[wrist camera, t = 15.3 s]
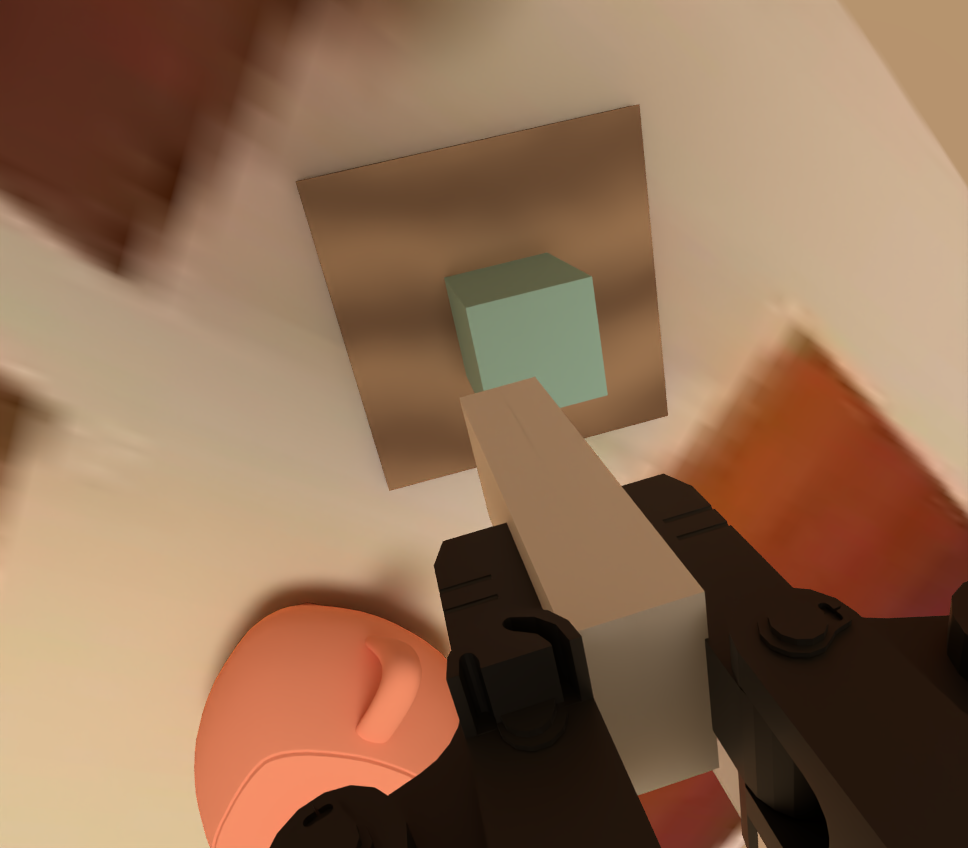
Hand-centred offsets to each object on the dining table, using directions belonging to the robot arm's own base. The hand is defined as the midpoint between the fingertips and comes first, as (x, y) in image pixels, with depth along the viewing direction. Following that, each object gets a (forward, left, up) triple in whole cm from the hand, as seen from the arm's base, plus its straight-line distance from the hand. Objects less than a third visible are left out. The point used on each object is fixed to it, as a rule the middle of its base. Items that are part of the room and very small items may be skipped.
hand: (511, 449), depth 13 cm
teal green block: (+3, +4, -20) cm, 21 cm away
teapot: (+23, -11, -21) cm, 33 cm away
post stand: (+3, +4, -21) cm, 22 cm away
